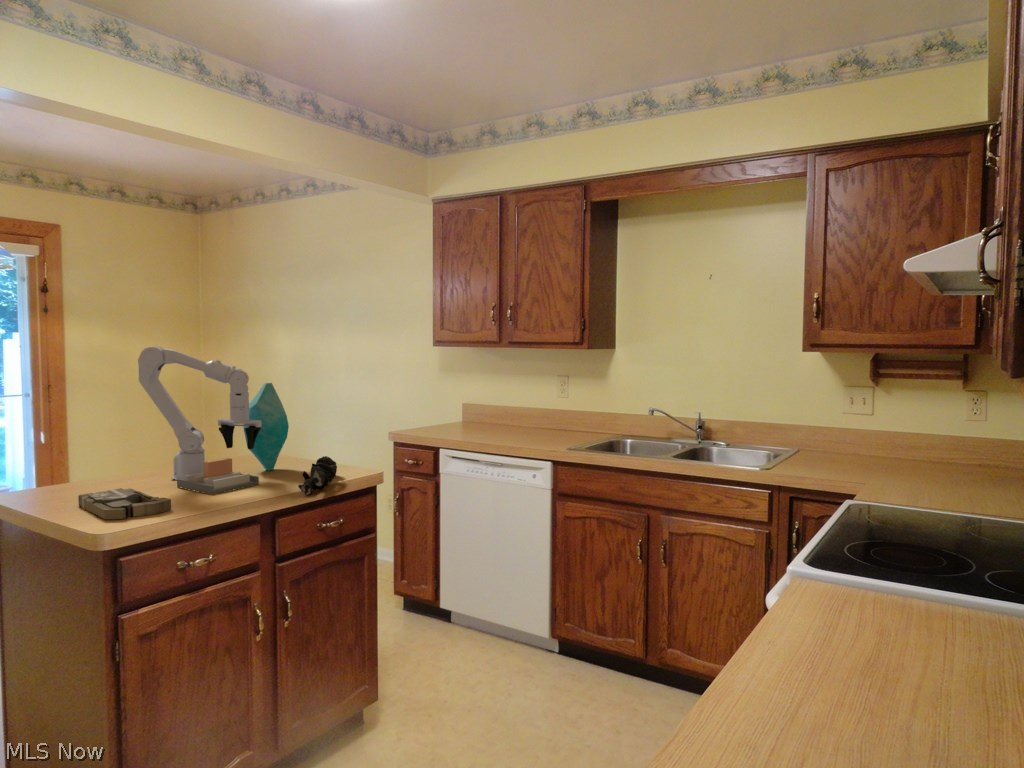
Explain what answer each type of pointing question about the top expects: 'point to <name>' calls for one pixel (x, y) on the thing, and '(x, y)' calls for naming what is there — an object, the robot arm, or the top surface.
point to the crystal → (268, 425)
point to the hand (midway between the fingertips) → (240, 448)
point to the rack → (217, 482)
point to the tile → (217, 467)
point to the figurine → (319, 475)
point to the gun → (123, 503)
